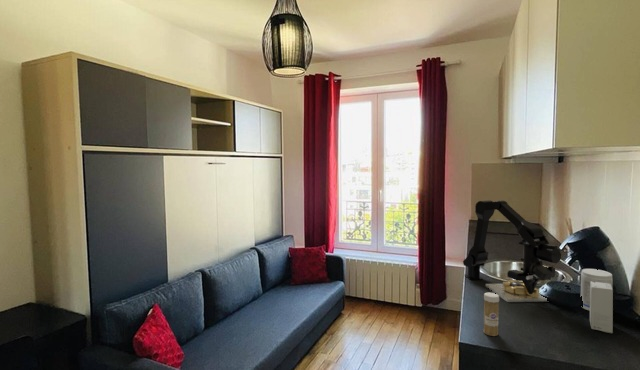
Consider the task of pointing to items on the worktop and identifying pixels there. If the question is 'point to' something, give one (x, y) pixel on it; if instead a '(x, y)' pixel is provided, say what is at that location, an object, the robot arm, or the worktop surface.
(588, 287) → the supplement tub
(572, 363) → the worktop surface
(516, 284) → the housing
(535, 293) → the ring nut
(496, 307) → the sprinkles bottle
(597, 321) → the skincare box
